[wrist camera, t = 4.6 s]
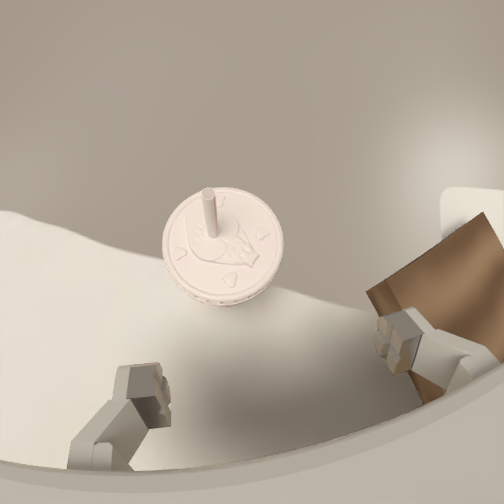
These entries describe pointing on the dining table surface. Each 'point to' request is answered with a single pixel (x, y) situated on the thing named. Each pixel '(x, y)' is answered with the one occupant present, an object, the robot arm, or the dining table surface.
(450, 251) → the plinth
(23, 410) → the dining table surface
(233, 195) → the smoothie
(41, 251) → the dining table surface
